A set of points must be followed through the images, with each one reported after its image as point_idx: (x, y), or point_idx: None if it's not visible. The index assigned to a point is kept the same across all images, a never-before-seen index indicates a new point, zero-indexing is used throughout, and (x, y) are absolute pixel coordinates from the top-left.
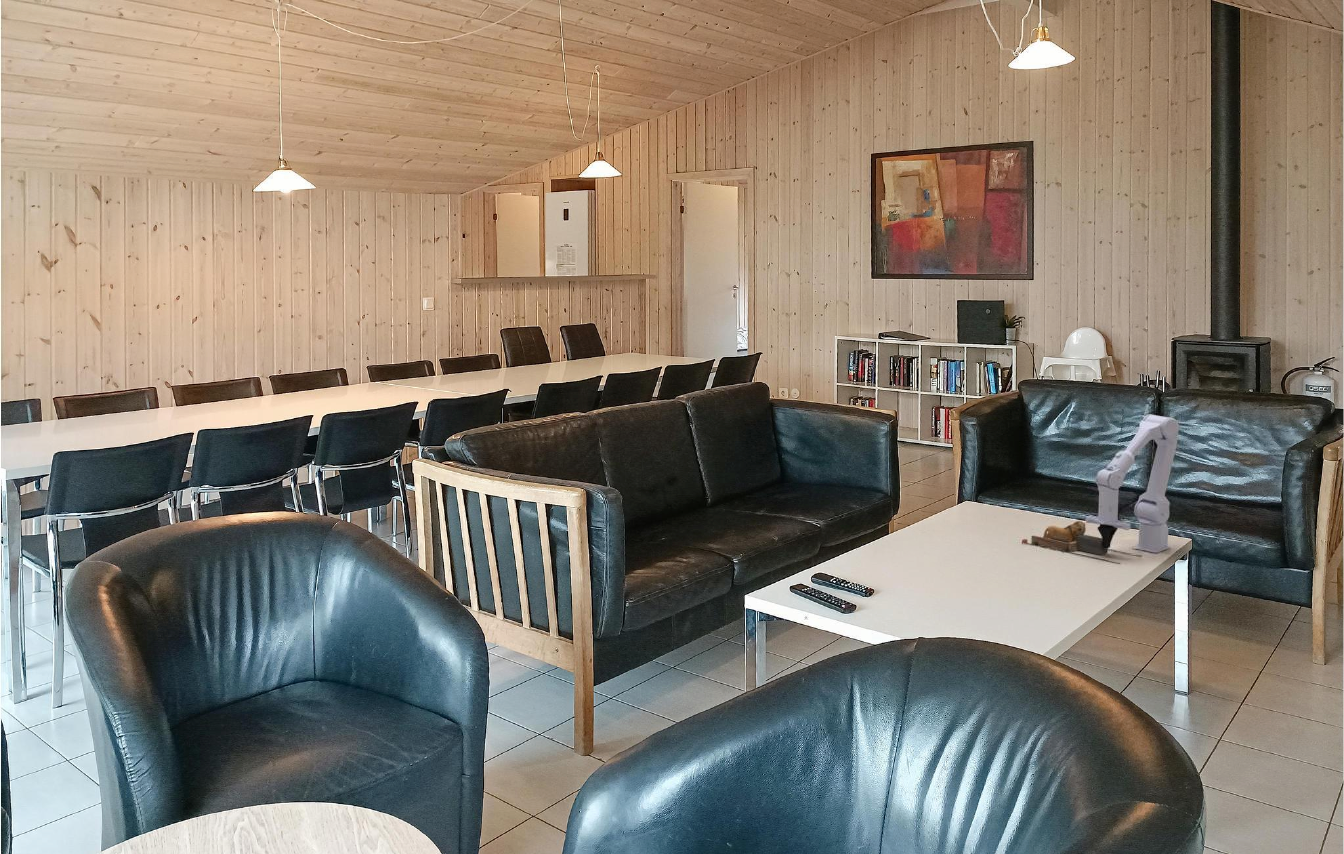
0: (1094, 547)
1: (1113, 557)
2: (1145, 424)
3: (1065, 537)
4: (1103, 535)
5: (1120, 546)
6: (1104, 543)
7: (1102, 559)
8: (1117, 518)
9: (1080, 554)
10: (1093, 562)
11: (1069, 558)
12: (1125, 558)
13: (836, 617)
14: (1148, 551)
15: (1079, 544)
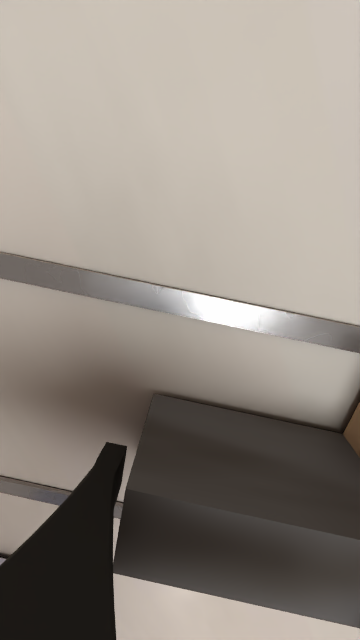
0: (204, 437)
1: (73, 390)
2: None
3: None
4: (67, 583)
5: (149, 586)
6: (104, 477)
7: (90, 283)
8: None
9: (285, 330)
10: (112, 156)
11: (347, 153)
12: (10, 405)
13: None
14: (3, 558)
15: (347, 467)
